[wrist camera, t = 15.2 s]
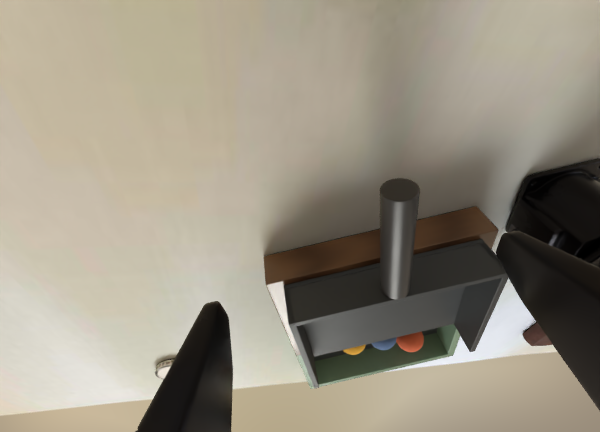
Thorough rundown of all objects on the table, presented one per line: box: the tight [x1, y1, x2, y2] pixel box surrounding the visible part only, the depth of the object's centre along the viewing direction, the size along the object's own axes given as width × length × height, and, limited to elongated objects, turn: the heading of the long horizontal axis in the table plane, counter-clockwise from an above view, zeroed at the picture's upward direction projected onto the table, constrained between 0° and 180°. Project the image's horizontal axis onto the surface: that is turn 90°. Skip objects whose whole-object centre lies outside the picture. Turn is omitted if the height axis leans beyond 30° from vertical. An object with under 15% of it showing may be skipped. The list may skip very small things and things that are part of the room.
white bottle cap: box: [155, 360, 174, 379], centre depth 35 cm, size 4×4×1 cm
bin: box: [296, 324, 460, 389], centre depth 36 cm, size 19×10×3 cm, turn 100°
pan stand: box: [264, 206, 498, 356], centre depth 29 cm, size 19×13×3 cm
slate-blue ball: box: [371, 337, 397, 350], centre depth 35 cm, size 3×3×3 cm
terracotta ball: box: [396, 331, 424, 352], centre depth 36 cm, size 3×3×3 cm
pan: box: [284, 178, 508, 388], centre depth 24 cm, size 22×16×4 cm
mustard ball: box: [343, 345, 366, 355], centre depth 34 cm, size 3×3×3 cm
